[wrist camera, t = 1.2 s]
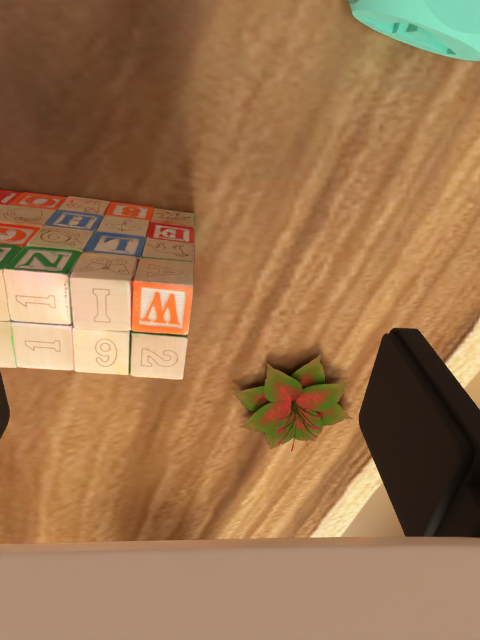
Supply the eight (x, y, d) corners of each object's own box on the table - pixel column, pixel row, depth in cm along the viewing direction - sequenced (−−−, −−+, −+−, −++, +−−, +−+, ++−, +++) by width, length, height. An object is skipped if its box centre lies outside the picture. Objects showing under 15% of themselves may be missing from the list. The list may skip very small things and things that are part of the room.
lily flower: (368, 417, 45) (384, 452, 42) (262, 458, 48) (268, 495, 44) (328, 331, 40) (342, 362, 36) (209, 383, 42) (210, 418, 38)
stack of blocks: (-98, 256, 33) (-236, 353, 23) (-120, 171, 30) (-292, 238, 20) (189, 286, 36) (184, 383, 26) (197, 211, 33) (195, 288, 23)
